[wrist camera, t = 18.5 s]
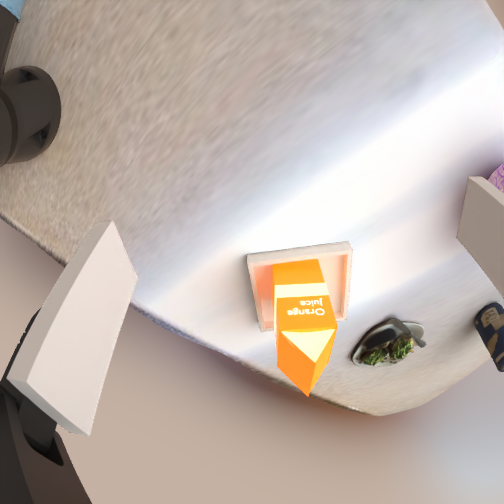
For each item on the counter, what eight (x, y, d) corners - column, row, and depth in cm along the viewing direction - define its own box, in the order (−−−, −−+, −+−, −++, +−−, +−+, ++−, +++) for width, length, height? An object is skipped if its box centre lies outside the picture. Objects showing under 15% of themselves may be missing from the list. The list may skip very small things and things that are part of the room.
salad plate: (441, 318, 63) (448, 332, 59) (402, 362, 73) (407, 376, 69) (379, 310, 60) (386, 327, 56) (342, 360, 70) (346, 376, 66)
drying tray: (260, 322, 60) (260, 331, 58) (247, 254, 50) (247, 263, 48) (343, 310, 59) (346, 319, 57) (348, 241, 49) (352, 249, 47)
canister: (489, 323, 66) (515, 372, 52) (467, 327, 66) (494, 380, 51) (504, 298, 61) (536, 348, 46) (483, 301, 60) (515, 355, 46)
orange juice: (318, 258, 50) (347, 359, 34) (313, 297, 55) (334, 394, 39) (270, 260, 50) (282, 365, 34) (270, 299, 55) (279, 399, 39)
